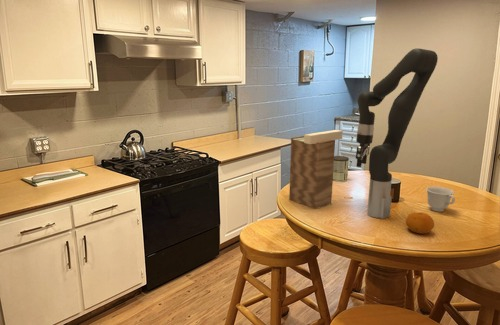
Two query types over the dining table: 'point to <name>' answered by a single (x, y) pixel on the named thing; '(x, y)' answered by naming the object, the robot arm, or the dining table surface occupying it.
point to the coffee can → (340, 168)
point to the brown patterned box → (311, 172)
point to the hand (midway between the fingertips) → (361, 165)
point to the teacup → (439, 198)
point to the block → (322, 136)
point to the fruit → (419, 222)
